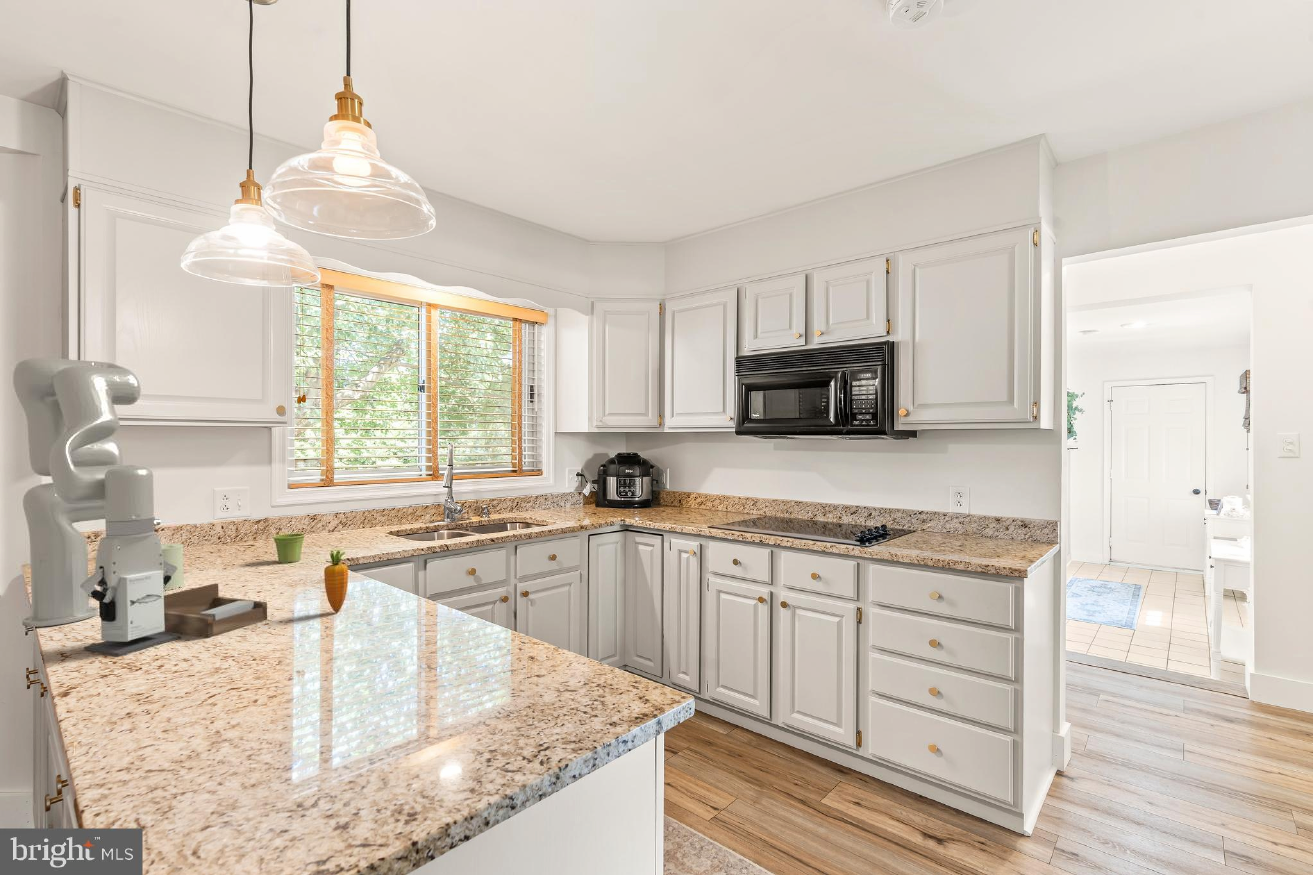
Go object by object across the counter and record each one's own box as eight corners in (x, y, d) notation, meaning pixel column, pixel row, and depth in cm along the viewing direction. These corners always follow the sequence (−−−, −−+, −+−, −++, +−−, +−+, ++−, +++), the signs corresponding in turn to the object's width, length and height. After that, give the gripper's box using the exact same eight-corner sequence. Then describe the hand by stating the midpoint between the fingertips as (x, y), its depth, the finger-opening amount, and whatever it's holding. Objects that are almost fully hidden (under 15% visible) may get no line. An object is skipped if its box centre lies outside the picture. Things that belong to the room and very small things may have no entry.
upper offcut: (199, 624, 132) (199, 612, 132) (238, 611, 141) (238, 600, 141) (215, 625, 131) (215, 613, 131) (253, 611, 141) (253, 601, 141)
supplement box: (127, 642, 121) (125, 577, 121) (100, 641, 123) (98, 577, 123) (166, 631, 128) (164, 569, 129) (140, 630, 130) (138, 570, 131)
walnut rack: (155, 629, 135) (154, 597, 135) (216, 612, 147) (215, 583, 147) (208, 637, 129) (207, 604, 129) (267, 619, 141) (266, 588, 141)
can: (166, 592, 167) (165, 547, 167) (132, 592, 168) (131, 548, 167) (192, 583, 177) (191, 541, 176) (160, 584, 177) (159, 542, 177)
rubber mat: (83, 649, 123) (83, 646, 123) (146, 632, 133) (146, 629, 133) (118, 656, 119) (118, 653, 119) (180, 638, 129) (180, 635, 129)
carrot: (325, 611, 147) (324, 548, 147) (349, 608, 149) (348, 546, 149) (323, 617, 142) (322, 551, 142) (348, 614, 144) (347, 549, 144)
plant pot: (287, 558, 211) (286, 532, 211) (312, 558, 210) (311, 533, 210) (266, 564, 202) (265, 537, 202) (292, 564, 201) (292, 537, 201)
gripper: (165, 521, 135) (166, 602, 135) (65, 534, 119) (67, 626, 119) (188, 522, 132) (190, 605, 133) (89, 536, 116) (91, 630, 116)
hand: (132, 614), depth 126 cm, fingers closed on supplement box, 7 cm apart
